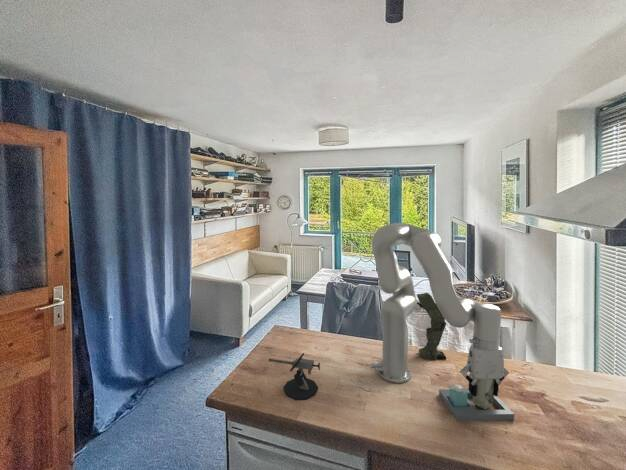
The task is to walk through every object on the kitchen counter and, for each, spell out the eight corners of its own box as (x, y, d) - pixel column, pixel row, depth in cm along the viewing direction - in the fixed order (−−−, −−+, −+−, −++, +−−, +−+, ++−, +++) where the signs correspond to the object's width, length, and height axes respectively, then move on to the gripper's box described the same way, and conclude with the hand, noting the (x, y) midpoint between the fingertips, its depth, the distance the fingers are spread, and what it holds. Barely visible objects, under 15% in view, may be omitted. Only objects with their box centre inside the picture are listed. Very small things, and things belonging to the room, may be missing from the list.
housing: (456, 421, 94) (457, 414, 94) (439, 394, 107) (439, 389, 107) (514, 419, 95) (514, 413, 94) (489, 394, 107) (489, 388, 107)
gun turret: (275, 374, 121) (274, 343, 120) (323, 382, 115) (323, 350, 114) (260, 393, 109) (259, 359, 107) (314, 403, 103) (313, 367, 102)
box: (485, 410, 98) (487, 372, 96) (471, 403, 101) (473, 366, 100) (493, 404, 100) (495, 367, 99) (480, 397, 104) (482, 362, 103)
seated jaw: (454, 411, 99) (455, 391, 98) (449, 403, 103) (449, 383, 102) (466, 411, 99) (467, 390, 98) (460, 403, 103) (461, 383, 102)
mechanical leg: (450, 351, 137) (436, 288, 135) (456, 359, 130) (441, 292, 128) (419, 356, 139) (405, 294, 137) (423, 365, 132) (408, 299, 130)
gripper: (465, 348, 95) (463, 401, 97) (520, 347, 95) (516, 400, 97) (454, 337, 102) (451, 387, 104) (504, 336, 103) (501, 386, 104)
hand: (483, 393), depth 101 cm, fingers closed on box, 6 cm apart
